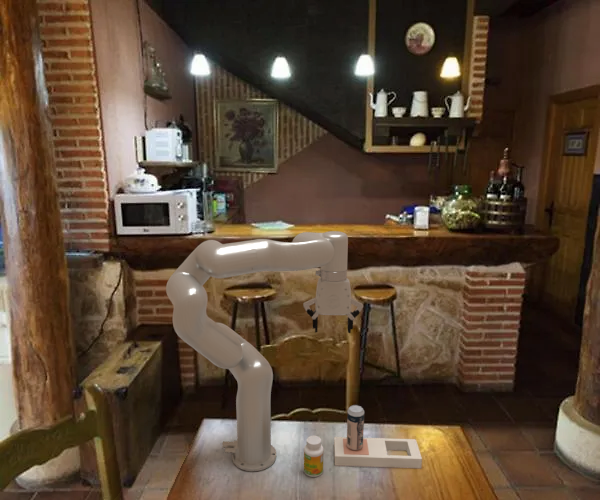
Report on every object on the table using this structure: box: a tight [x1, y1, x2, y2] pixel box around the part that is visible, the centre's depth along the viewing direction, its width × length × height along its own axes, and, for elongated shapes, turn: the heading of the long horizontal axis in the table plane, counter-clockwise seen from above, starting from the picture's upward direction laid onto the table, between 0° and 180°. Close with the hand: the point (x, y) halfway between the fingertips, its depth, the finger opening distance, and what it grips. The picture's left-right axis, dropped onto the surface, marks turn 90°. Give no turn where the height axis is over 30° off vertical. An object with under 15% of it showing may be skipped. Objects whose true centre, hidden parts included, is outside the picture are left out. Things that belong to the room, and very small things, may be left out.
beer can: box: [346, 404, 365, 450], centre depth 138 cm, size 5×5×12 cm
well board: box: [333, 436, 423, 469], centre depth 139 cm, size 24×9×3 cm, turn 88°
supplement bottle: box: [303, 435, 325, 478], centre depth 132 cm, size 5×5×10 cm
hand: (332, 330), depth 142 cm, fingers open, 9 cm apart
